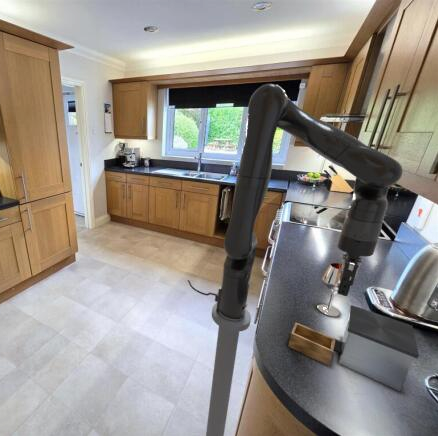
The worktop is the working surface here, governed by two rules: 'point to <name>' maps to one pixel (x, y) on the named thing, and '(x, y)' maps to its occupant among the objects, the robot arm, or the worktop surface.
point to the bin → (377, 347)
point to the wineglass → (331, 287)
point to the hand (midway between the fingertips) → (343, 287)
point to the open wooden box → (312, 343)
